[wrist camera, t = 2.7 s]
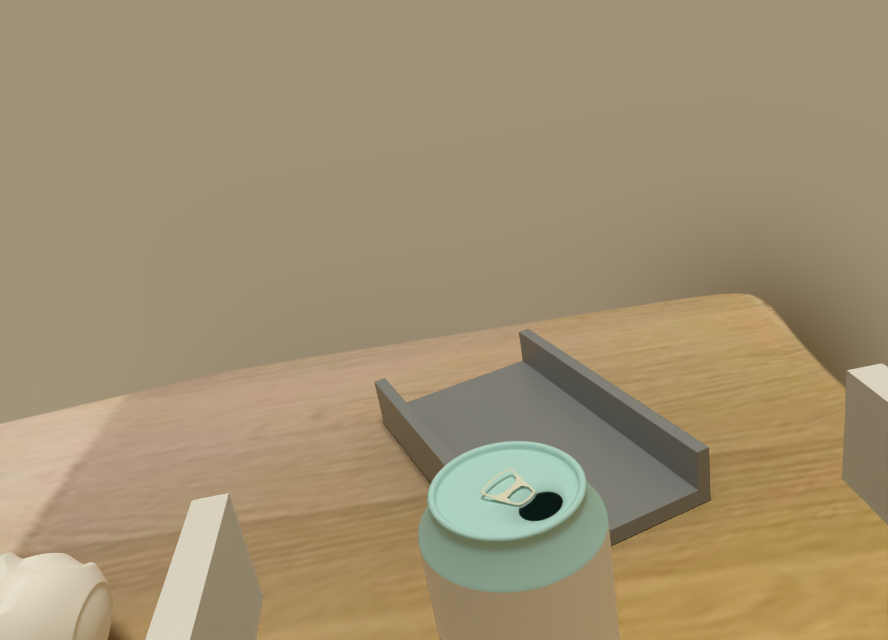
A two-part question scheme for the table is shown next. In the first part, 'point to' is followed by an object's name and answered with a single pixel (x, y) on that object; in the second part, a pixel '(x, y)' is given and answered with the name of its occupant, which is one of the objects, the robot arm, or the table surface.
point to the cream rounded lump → (53, 599)
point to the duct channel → (560, 433)
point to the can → (518, 547)
